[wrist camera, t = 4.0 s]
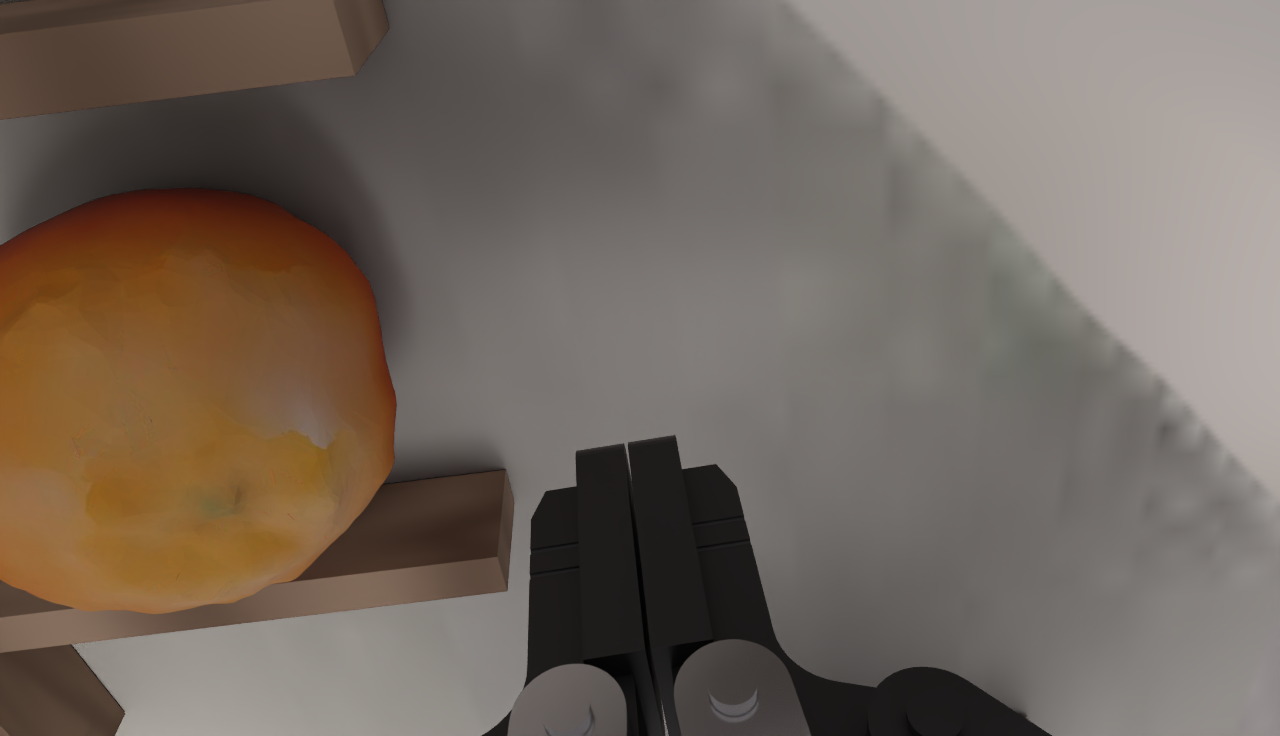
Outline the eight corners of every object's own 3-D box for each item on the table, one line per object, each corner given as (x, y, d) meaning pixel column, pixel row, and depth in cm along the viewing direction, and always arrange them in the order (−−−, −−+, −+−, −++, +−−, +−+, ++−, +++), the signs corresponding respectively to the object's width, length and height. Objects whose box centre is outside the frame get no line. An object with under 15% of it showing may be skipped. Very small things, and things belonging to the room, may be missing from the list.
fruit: (-181, 128, 14) (-217, 377, 9) (292, 101, 19) (442, 261, 14) (-35, 476, 19) (-6, 769, 14) (319, 390, 23) (440, 591, 18)
